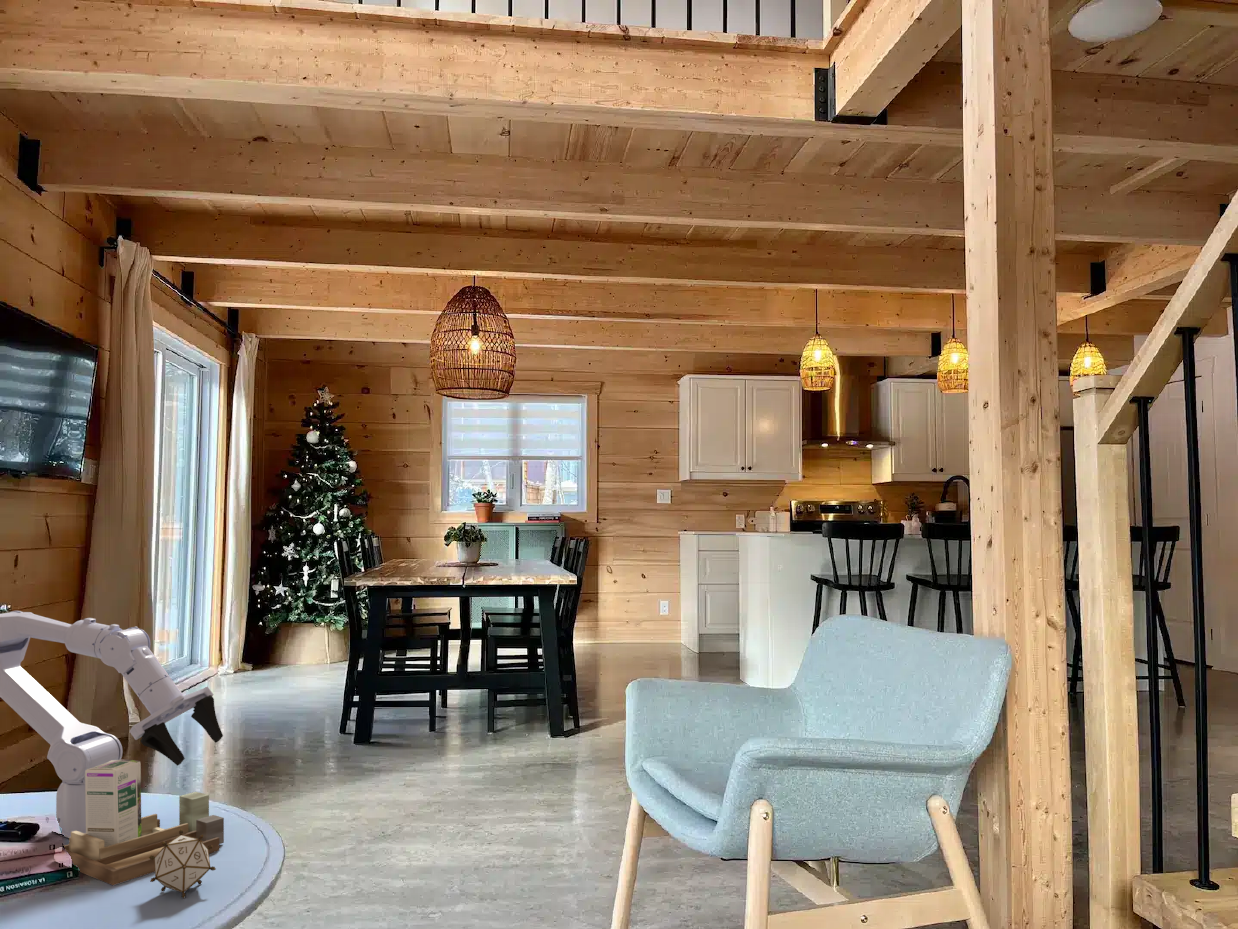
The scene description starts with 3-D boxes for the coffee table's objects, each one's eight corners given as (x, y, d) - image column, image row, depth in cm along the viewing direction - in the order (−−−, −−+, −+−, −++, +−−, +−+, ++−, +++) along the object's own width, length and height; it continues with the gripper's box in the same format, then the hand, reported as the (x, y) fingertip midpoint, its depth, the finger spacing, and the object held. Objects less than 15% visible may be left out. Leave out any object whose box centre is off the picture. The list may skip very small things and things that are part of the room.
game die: (175, 914, 136) (172, 846, 142) (229, 892, 136) (224, 824, 142) (135, 905, 129) (134, 833, 135) (192, 882, 129) (189, 810, 135)
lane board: (53, 861, 149) (53, 848, 149) (158, 830, 162) (158, 819, 163) (113, 885, 138) (113, 871, 138) (219, 850, 152) (219, 838, 152)
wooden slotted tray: (68, 857, 150) (69, 819, 150) (186, 822, 166) (186, 789, 166) (100, 869, 144) (101, 830, 144) (219, 832, 160) (219, 797, 160)
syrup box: (116, 863, 147) (117, 769, 148) (84, 862, 148) (84, 768, 149) (142, 851, 153) (142, 759, 153) (110, 849, 154) (110, 758, 155)
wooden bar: (105, 871, 143) (105, 844, 143) (210, 838, 157) (210, 814, 157) (121, 878, 140) (121, 850, 140) (226, 843, 154) (226, 818, 154)
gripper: (123, 696, 154) (171, 762, 153) (199, 658, 167) (244, 719, 165) (109, 716, 158) (156, 781, 156) (185, 677, 170) (229, 737, 168)
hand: (200, 750), depth 161 cm, fingers open, 7 cm apart
